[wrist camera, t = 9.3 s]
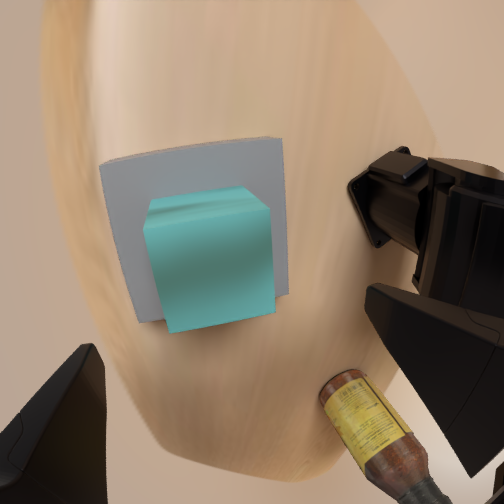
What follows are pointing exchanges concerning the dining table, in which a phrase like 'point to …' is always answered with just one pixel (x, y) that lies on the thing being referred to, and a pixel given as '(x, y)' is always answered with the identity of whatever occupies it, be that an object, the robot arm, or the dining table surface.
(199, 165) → the gray plinth
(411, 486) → the sauce bottle
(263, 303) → the teal cube
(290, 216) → the dining table surface
